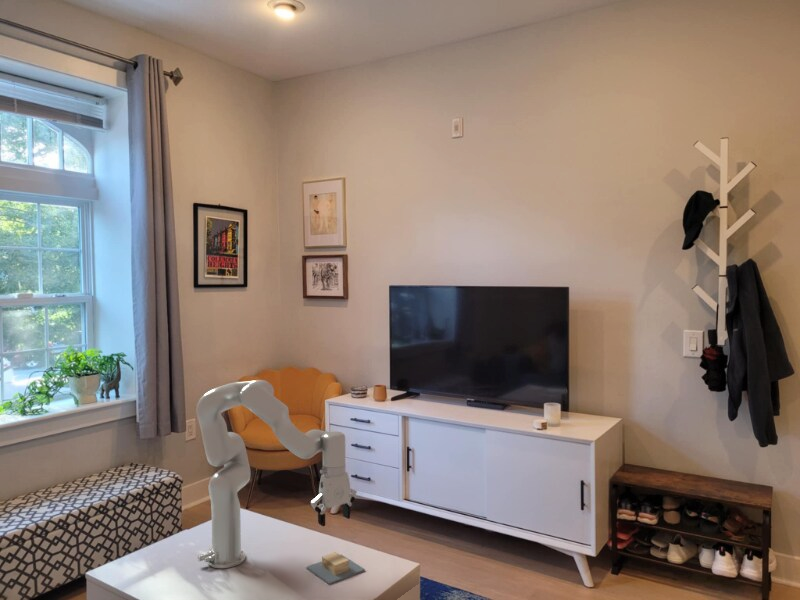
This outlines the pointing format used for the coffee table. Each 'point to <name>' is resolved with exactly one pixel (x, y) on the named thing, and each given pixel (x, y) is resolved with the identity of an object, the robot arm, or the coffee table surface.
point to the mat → (332, 578)
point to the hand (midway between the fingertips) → (334, 521)
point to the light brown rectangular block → (335, 563)
